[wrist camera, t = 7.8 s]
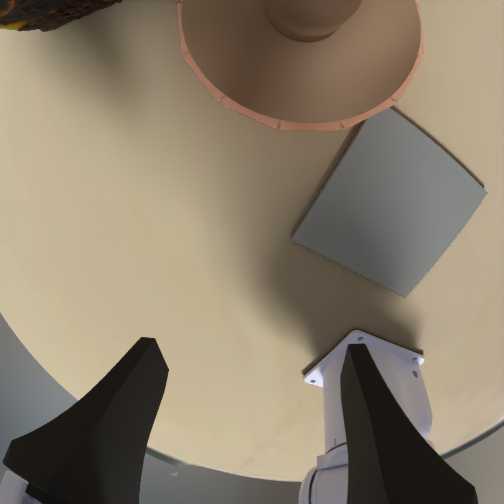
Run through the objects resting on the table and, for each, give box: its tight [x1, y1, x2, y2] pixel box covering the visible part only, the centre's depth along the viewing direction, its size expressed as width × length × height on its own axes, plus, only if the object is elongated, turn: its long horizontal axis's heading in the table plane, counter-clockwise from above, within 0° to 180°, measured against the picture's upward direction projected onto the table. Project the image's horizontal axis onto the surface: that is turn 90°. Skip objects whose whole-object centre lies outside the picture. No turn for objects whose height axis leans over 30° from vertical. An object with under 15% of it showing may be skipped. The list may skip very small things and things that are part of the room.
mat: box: [291, 107, 487, 298], centre depth 17 cm, size 10×10×1 cm
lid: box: [181, 0, 421, 123], centre depth 8 cm, size 10×10×5 cm
